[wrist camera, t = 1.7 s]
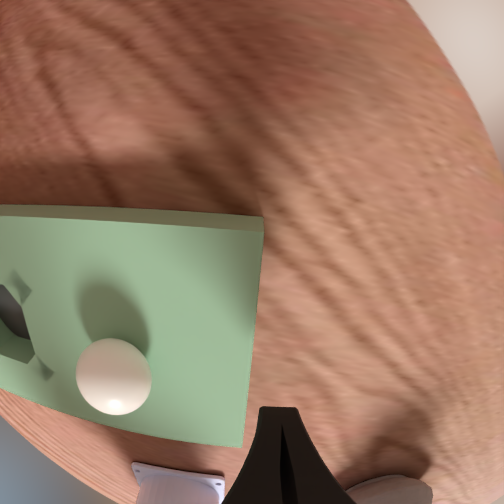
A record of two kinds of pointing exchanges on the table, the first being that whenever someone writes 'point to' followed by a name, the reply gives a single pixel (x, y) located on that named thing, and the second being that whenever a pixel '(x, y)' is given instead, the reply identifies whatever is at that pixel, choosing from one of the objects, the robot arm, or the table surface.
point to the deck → (133, 310)
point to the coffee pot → (391, 491)
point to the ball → (113, 376)
